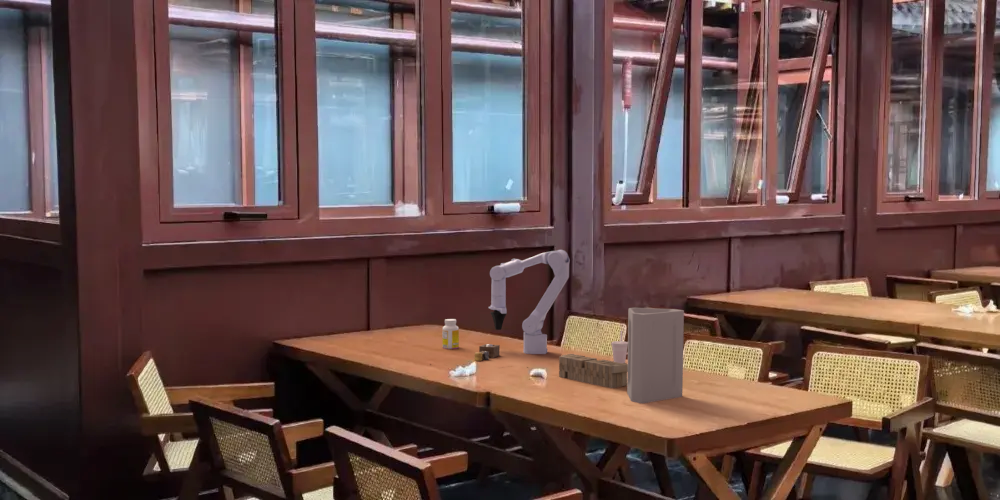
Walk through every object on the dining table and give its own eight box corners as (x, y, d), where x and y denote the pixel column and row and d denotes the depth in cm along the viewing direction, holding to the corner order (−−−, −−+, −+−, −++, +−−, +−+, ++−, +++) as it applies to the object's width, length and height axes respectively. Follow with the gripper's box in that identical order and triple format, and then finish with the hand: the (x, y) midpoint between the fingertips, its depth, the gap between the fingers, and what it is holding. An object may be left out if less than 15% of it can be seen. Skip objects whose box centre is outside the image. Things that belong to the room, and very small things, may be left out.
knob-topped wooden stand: (485, 354, 417) (485, 344, 416) (499, 355, 414) (499, 345, 414) (469, 360, 402) (469, 349, 402) (484, 361, 400) (484, 350, 400)
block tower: (556, 379, 379) (614, 389, 356) (555, 355, 379) (613, 364, 356) (572, 376, 384) (630, 386, 361) (572, 353, 384) (630, 362, 361)
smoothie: (627, 370, 392) (627, 332, 391) (609, 369, 394) (610, 331, 393) (628, 367, 399) (629, 330, 398) (611, 366, 400) (612, 329, 399)
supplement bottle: (459, 349, 437) (459, 318, 436) (457, 352, 430) (457, 320, 429) (443, 349, 437) (443, 318, 436) (441, 352, 431) (441, 320, 430)
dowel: (488, 360, 405) (488, 351, 405) (488, 361, 403) (488, 352, 403) (484, 360, 405) (484, 351, 405) (483, 361, 404) (483, 351, 403)
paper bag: (650, 389, 356) (652, 306, 355) (683, 396, 344) (685, 310, 343) (608, 395, 345) (609, 309, 343) (641, 403, 333) (642, 314, 331)
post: (492, 359, 414) (492, 344, 414) (492, 360, 412) (492, 345, 411) (486, 359, 414) (486, 344, 414) (486, 360, 412) (486, 345, 411)
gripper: (483, 294, 431) (483, 327, 432) (494, 297, 417) (494, 332, 418) (500, 293, 433) (499, 326, 434) (511, 297, 419) (511, 331, 420)
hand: (498, 329), depth 426 cm, fingers closed
